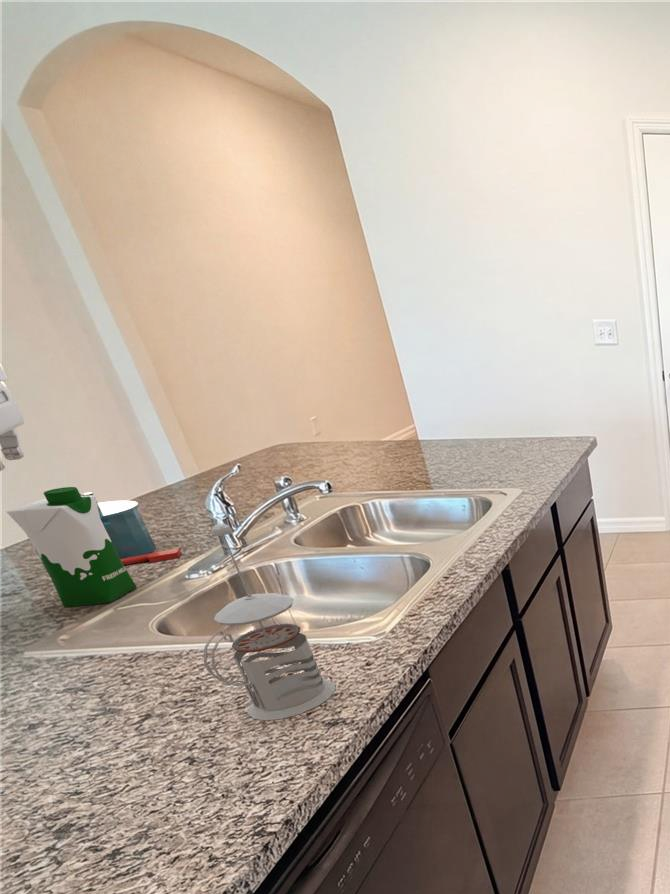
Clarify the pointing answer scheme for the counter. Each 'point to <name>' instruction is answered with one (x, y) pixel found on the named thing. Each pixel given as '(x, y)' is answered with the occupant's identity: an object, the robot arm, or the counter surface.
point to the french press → (270, 655)
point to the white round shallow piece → (114, 507)
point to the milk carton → (74, 547)
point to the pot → (129, 534)
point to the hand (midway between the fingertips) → (6, 464)
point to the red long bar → (153, 557)
